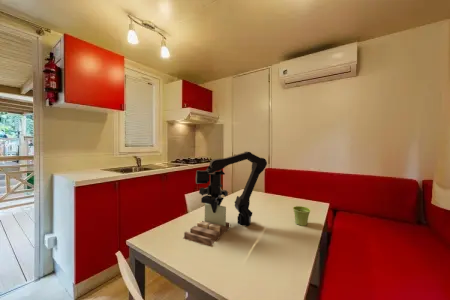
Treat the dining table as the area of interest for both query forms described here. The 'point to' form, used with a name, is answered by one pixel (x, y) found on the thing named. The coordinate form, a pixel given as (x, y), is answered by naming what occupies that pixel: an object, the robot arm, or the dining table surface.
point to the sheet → (215, 215)
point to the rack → (205, 234)
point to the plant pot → (301, 215)
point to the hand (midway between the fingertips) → (215, 212)
